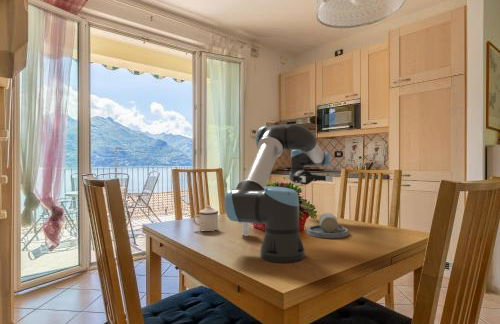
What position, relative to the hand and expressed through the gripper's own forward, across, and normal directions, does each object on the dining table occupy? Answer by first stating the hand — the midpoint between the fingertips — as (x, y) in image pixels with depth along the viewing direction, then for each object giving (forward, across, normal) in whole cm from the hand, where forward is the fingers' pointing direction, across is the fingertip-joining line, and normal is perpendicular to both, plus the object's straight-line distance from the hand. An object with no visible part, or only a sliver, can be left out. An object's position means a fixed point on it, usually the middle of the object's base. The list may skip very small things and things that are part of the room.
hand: (318, 179), depth 142 cm
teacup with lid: (-10, +53, -24) cm, 59 cm away
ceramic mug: (+10, -2, -23) cm, 25 cm away
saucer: (+9, 0, -24) cm, 25 cm away
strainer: (+4, +36, -24) cm, 44 cm away
